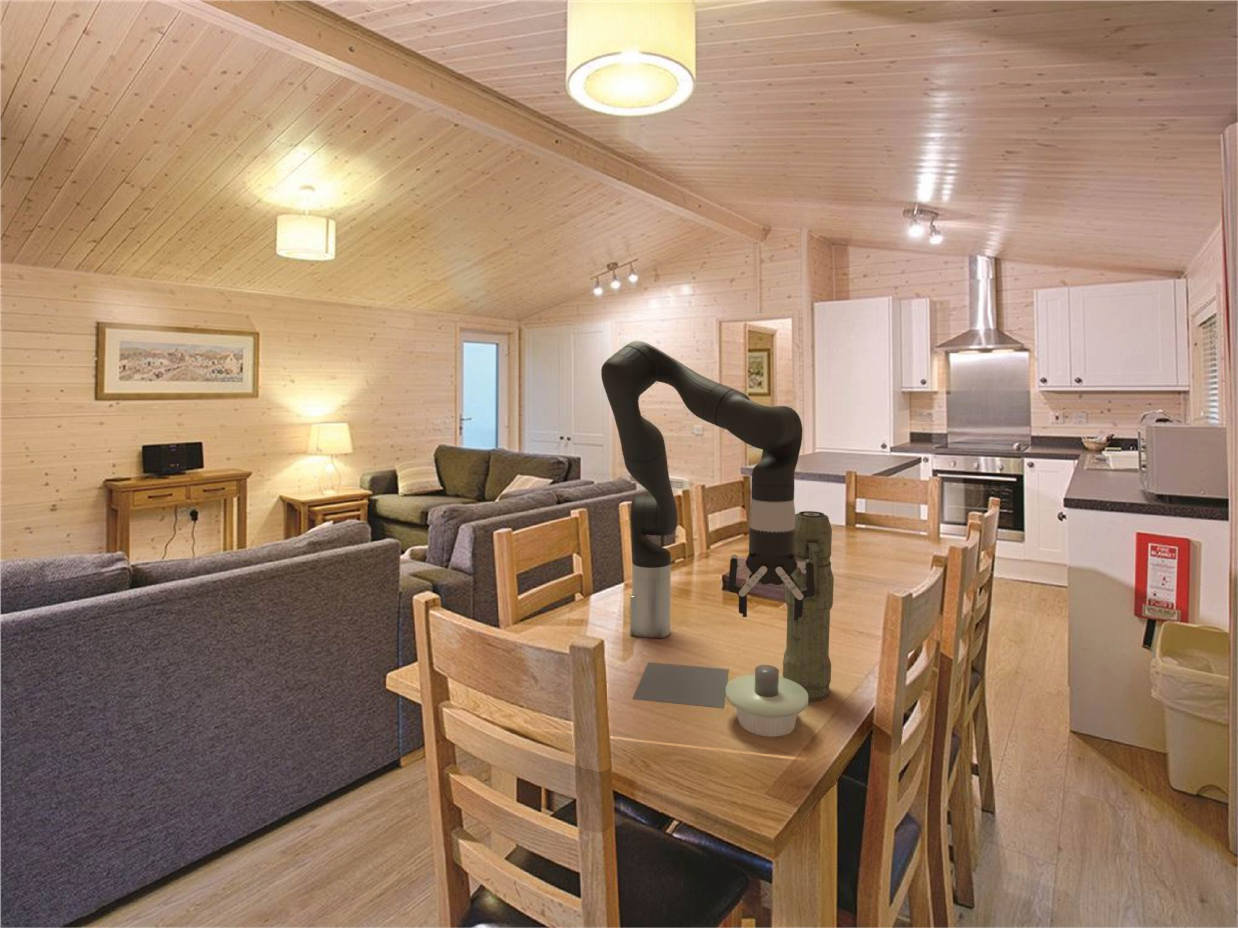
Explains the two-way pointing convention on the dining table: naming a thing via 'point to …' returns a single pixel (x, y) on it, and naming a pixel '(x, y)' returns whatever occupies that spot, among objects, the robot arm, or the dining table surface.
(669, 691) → the mat
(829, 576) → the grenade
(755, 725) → the ramekin
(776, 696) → the lid
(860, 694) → the dining table surface
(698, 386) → the robot arm
